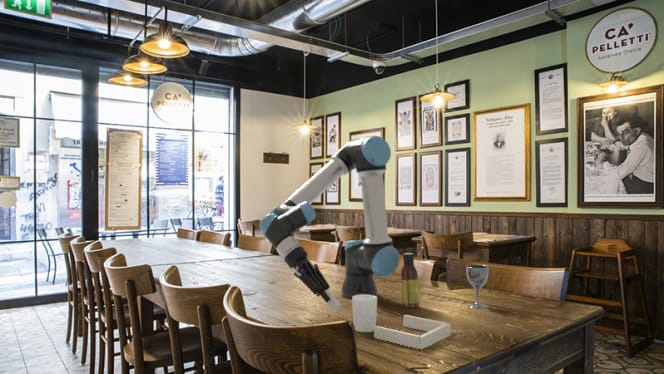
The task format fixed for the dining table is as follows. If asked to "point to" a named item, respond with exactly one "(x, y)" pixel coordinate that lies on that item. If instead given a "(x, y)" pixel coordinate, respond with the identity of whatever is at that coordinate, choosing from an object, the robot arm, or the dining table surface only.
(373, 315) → the white cup
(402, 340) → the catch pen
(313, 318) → the dining table surface
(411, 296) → the sauce bottle
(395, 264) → the robot arm
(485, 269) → the wine glass
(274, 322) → the dining table surface
